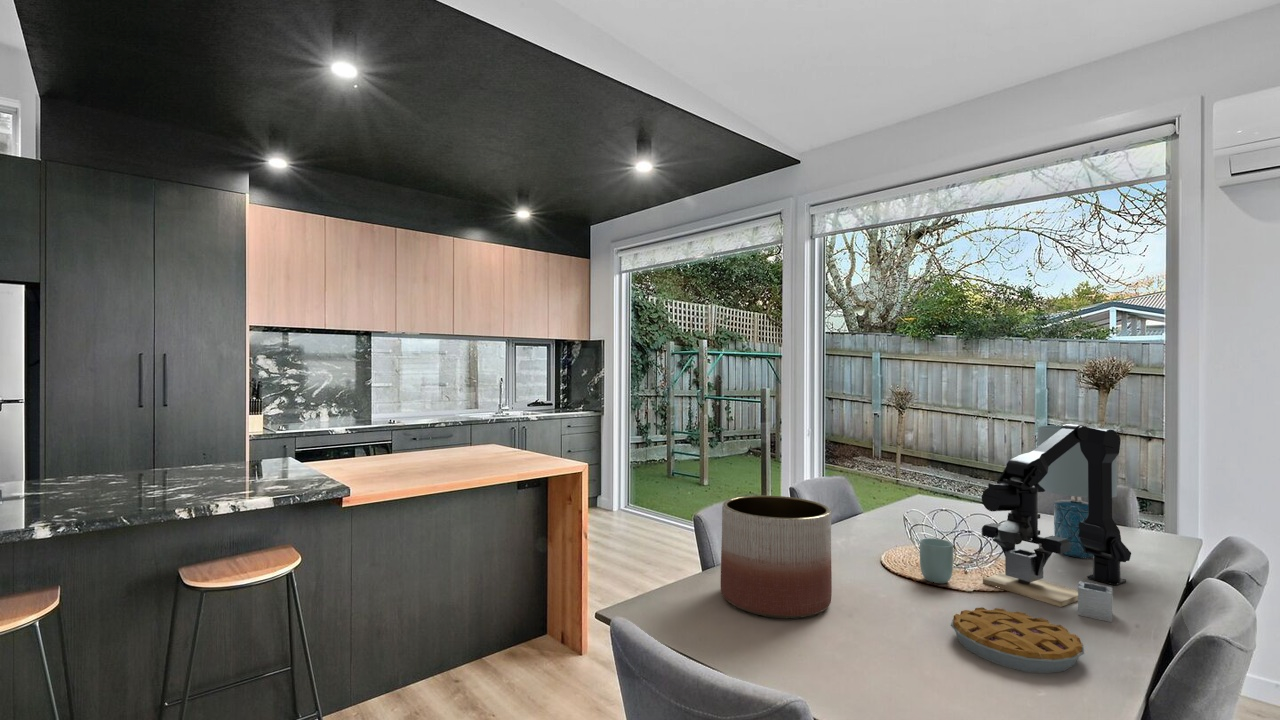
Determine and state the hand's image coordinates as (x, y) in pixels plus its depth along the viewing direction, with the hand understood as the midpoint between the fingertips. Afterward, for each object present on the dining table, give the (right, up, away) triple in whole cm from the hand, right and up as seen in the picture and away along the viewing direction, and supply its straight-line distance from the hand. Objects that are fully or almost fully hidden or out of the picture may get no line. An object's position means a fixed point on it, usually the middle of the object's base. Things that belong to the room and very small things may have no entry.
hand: (1024, 571), depth 152 cm
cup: (-20, -4, +4) cm, 21 cm away
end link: (0, -1, 0) cm, 1 cm away
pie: (-24, -4, -34) cm, 42 cm away
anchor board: (+1, -4, -2) cm, 4 cm away
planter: (-65, -3, -10) cm, 66 cm away
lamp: (+34, -5, +29) cm, 45 cm away
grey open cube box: (+5, -4, -17) cm, 18 cm away
